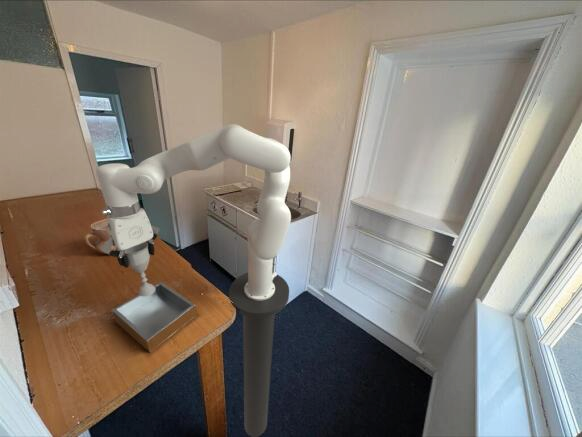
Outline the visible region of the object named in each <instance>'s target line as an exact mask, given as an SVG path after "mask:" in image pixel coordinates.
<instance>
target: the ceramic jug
mask: <svg viewBox="0 0 582 437" xmlns="http://www.w3.org/2000/svg"><path fill="white" fill-rule="evenodd" d="M90 229H91V231H92V232H90V233H87V234H86V235H85V236H84V242H85V244H86V246H88V247H90V248H92V250H93V251H95V252H96V253H98V254H102V255H108V254H107V253H104V252H102V251H101V248H102V247H103V246H104V244H105V243H106V242H107V241H108V240H109V238H110V237H109V232H108V226H107V218H104V219H102V220H98V221H95V222H93V223H91V225H90ZM90 238H98V239H97V240H96V241H95V243H94V244H92V243H91V242H90V240H89V239H90ZM115 248H116V246H113V245H112V246H111V248H110V250H114V251H115Z"/></svg>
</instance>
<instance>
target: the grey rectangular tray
mask: <svg viewBox="0 0 582 437" xmlns="http://www.w3.org/2000/svg"><path fill="white" fill-rule="evenodd" d="M153 286H154V287H155V288H156V290H155V292H154V293H153V294H151V295H149V296H145V297H142V296H140V295H139V294H137V295H135V296H134V297H132V298H130V299H128V300H127V301H125V302H123V303H121V304H120V305H118V306H116V307H115V308H113V309H112V310H111V312H112V316H113V318H114V321H115V322H116V323H117V324H118V325H119V326H120V327H121V328H122V329H123V330H125V332H127V334H129V335H130V336H131V337H132V338H133V339H134V340H135V341H137V342H138V343H139V344H140V345H141V346H142V347H143V348H144V350H147V352H149V353H152V352H154V350H156V349H157V348H158V347H159V346H161V345H162V344H163V343H164V342H166V341H167V340H169V338H171V337H172V336H173V335H175V334H176V333H177V332H178V331H180V330H181V329H182V328H183V327H185V325H188V323H189V322H191V321H192V320H193V319H194V318H196V317H198V313H197V307H196V304H195V303H193V302H192V301H190V300H189V299H188V298H186V297H184V296H183V295H182V294H180V293H178V292H177V291H176V290H174V289H173V288H171V287H169V286H168V285H166V284H165V283H163V282H162V281H160V282H158V283H157V284H155V285H153Z"/></svg>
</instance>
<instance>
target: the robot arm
mask: <svg viewBox="0 0 582 437" xmlns="http://www.w3.org/2000/svg"><path fill="white" fill-rule="evenodd" d="M229 159H231V160H233V161H236V162H238V163H241V164H244V165H247V166H250V167H253V168H256V169H259V170H262V171H264V179H263V185H262V188H261V191H260V194H259V198H258V201H257V204H256V211H257V212H256V213H257V214H258V217H259V218H256V219H254V220H253V221H252V222H250V224H248V227H247V231H246V238H247V249H248V250H247V252H248V253H247V256H248V258H247V273H248V282H247V283H246V285H245V287H244V292H245V294H246V296H247V297H248V298H250V299H252V300H256V301H262V300H266V299H268V298H270V297H271V296H272V295H273V294H274V292H275V285H274V283H273V282H272V280H273V278H274V277H276V276H277V275H278V274H277V272H276V271H273V265H274V263H273V262H274V259H275V257H277V256H278V255H279V253H280V252H281V250H282V248H283V246H284V243H285V240H286V237H287V234H288V231H289V229H290V227H291V226H290V225H291V221H292V214H291V210H290V208H289V207H288V205H287V204H286V202H285V201H286V196H287V194H288V191H289V187H290V182H291V167H290V163H291V159H292V158H291V153H290V150H289V149H288V148H287V146H286V145H284V144H283V143H281V142H279V141H278V140H276V139H274V138H271V137H265V136H261V135H259V134H257V133H255V132H253V131H250V130H249V129H246V128H244V127H243V126H241V125H239V124H236V123H235V124H234V123H232V124H231V123H230V124H227V125H224V126H222V127H219V128H217V129H215V130H213V131H210V132H208V133H206V134H203V135H201V136H199V137H196V138H194V139H192V140H189V141H187V142H184V143H182V144H180V145H177V146H175V147H172V148H169V149H167V150H164V151H162V152H159V153H157V154H154V155H152V156H150V157H148V158H146V159H144V160H142V161H140V163H138V164H137V166H133V167H130V166H129V165H128V164H125V163H118V162H117V163H115V162H114V163H106V164H102V165H99V166H98V167H97V168H96V170H95V172H96V177H97V180H98V183H99V186H100V189H101V193H102V196H103V199H104V202H105V208H104V209H102V210H101V214H102V215H103V216H106V215H107V216H106V219H107V226H108V232H109V237H110V238H109V240H108V241H107V242H106V243H105V244H104V246H103V247H102V248H101V251H102V252H104V253H107V254H106V255H110V256H113V257H116V259H117V263H118V264H119V266H121V267H124V268H125V269H128V268H130V266H129V265H128V262H127V259H126V256H125V255H124V252H125V250H126V249H129V248H132V247H134V246H136V245H139V244H141V243H143V242H148V247H147V248H148V252H149V255H150V256H155V249H156V248H155V245H154V244H155V241H156V239H157V237H158V235H159V232H160V230H161V228H160V227H157V226H154V225H151V222H150V219H149V216H148V215H147V212H146V211H145V209H144V208H142V207H141V204H140V201H139V197H138V194H142V195H150V194H156V193H158V192H159V191H160V190H161V188H162V187H163V184H164V182H165V180H167V179H169V178H171V177H174V176H176V175H179V174H181V173H183V172H187V171H205V170H207V169H210V168H212V167H214V166H216V165H218V164H221V163H223V162H224V161H226V160H227V161H228V160H229ZM112 245H113V246H116V248H115V251H114V250H110V248H111V246H112Z"/></svg>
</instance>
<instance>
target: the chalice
mask: <svg viewBox="0 0 582 437" xmlns="http://www.w3.org/2000/svg"><path fill="white" fill-rule="evenodd" d="M147 247H148V242H143V243H141V244H139V245H136V246H134V247H132V248H129V249H126V250H125V252H124V256H126V259H127V262H128V265H129V268H131V269H132V270H133V271H135V272H136V273H137V274H138V273H139V274H140V276H139V278H141V280H140V282H141V283H142V284H141V286H140V287H139V291H138V295H140V296H142V297H145V296H149V295H151V294H153V293H154V292H155V290H156V288H155V287H154V286H155V285H153V284H152V283H150V282H147V281H148V278H147V277H146V275H147V274H146V273H145V271H146V270H147V269H148V266H149V263H150V258H151V255H150V254H149V252H148V248H147Z"/></svg>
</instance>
